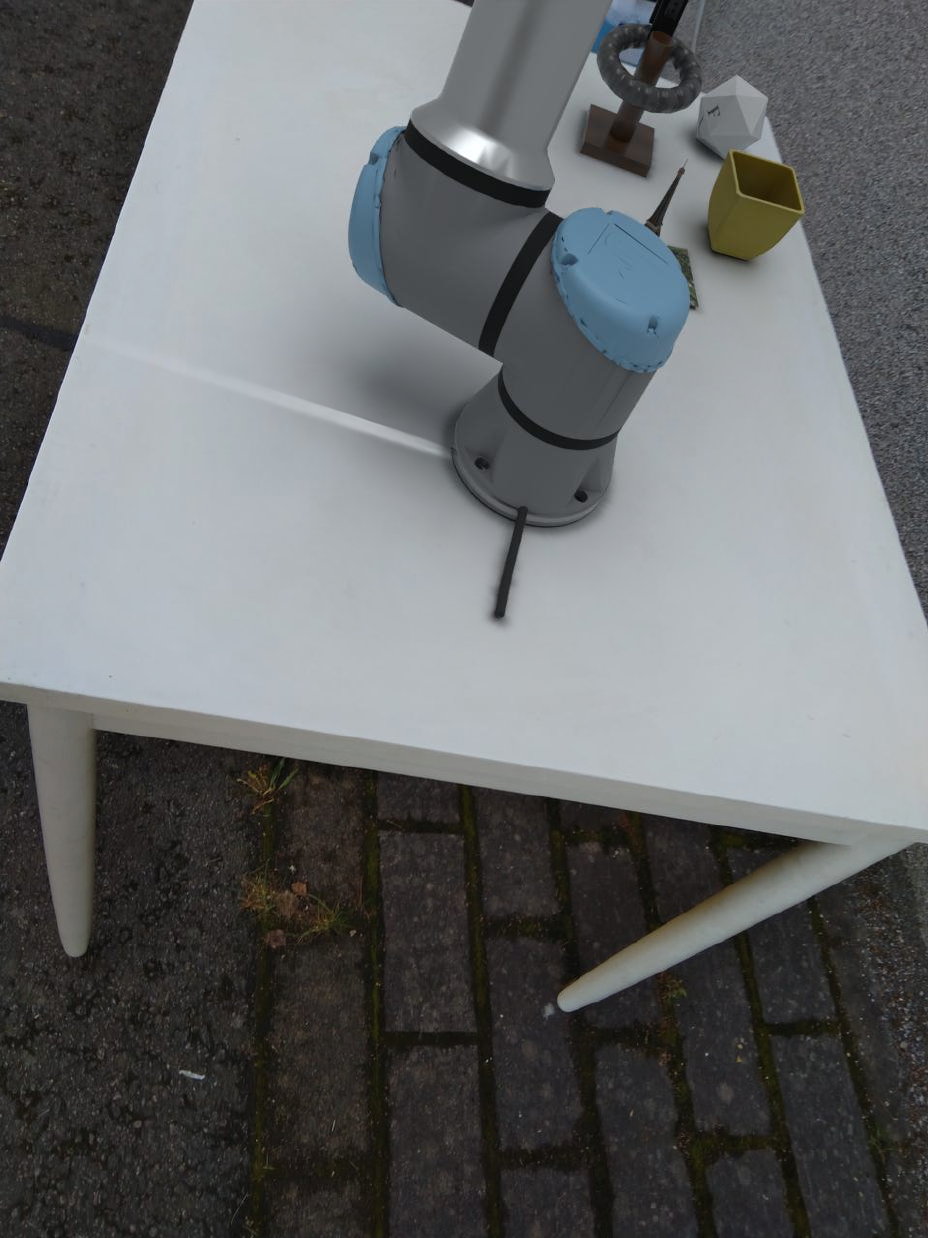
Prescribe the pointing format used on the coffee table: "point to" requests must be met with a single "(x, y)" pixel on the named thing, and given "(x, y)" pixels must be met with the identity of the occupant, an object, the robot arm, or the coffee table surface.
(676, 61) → the grey ribbed ring
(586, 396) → the robot arm
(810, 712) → the coffee table surface
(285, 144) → the coffee table surface
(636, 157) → the wooden peg stand
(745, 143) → the die
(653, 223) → the eiffel tower figurine
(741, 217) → the flower pot
